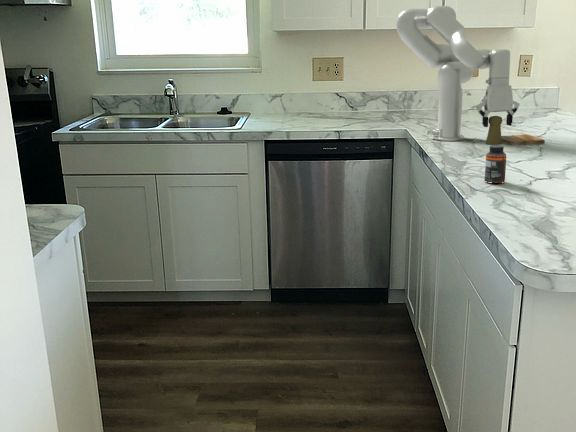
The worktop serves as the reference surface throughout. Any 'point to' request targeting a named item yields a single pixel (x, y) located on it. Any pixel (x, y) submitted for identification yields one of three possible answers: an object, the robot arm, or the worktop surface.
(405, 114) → the worktop surface
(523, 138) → the board
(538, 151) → the worktop surface
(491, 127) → the cork
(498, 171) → the supplement bottle
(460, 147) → the worktop surface
